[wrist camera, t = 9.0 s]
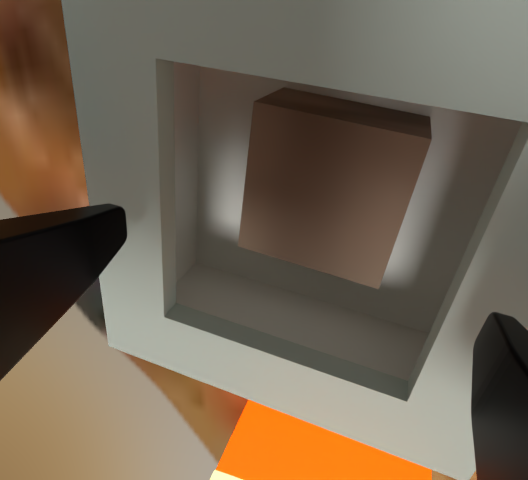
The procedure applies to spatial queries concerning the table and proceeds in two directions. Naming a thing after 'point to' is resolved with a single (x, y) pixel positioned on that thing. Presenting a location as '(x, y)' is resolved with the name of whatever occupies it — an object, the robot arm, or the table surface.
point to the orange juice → (303, 452)
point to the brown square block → (330, 181)
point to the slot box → (286, 273)
